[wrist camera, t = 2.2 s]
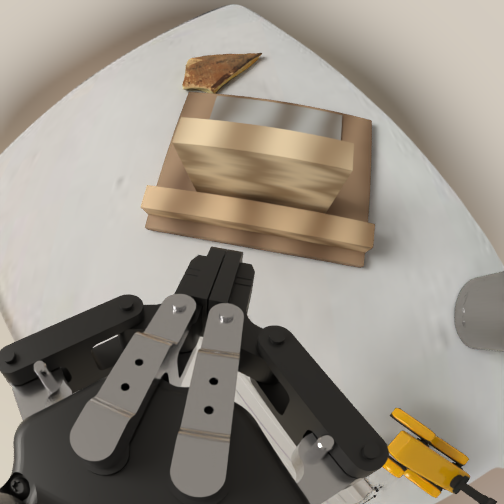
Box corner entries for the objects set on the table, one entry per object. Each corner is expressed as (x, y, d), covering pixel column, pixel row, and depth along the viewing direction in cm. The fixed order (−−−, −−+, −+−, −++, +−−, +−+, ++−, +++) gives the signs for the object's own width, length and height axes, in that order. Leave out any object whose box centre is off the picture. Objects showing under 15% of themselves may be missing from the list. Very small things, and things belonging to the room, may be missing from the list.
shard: (262, 59, 39) (262, 51, 37) (263, 96, 38) (263, 87, 36) (189, 63, 39) (187, 55, 38) (183, 100, 38) (180, 92, 36)
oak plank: (326, 194, 33) (354, 143, 22) (324, 215, 33) (352, 170, 22) (202, 173, 34) (181, 117, 23) (197, 193, 34) (172, 142, 23)
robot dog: (435, 487, 26) (485, 530, 13) (350, 436, 29) (395, 492, 16) (461, 455, 27) (519, 489, 14) (383, 397, 30) (444, 435, 17)
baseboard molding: (239, 282, 33) (149, 340, 32) (237, 279, 30) (140, 342, 29) (380, 480, 28) (299, 527, 27) (388, 490, 25) (301, 540, 24)
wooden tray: (369, 124, 36) (377, 109, 33) (360, 267, 33) (371, 262, 29) (190, 96, 37) (185, 80, 34) (147, 229, 34) (136, 220, 30)
